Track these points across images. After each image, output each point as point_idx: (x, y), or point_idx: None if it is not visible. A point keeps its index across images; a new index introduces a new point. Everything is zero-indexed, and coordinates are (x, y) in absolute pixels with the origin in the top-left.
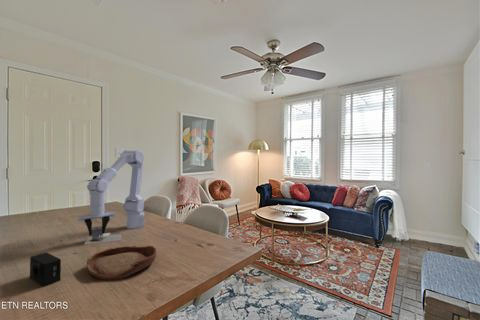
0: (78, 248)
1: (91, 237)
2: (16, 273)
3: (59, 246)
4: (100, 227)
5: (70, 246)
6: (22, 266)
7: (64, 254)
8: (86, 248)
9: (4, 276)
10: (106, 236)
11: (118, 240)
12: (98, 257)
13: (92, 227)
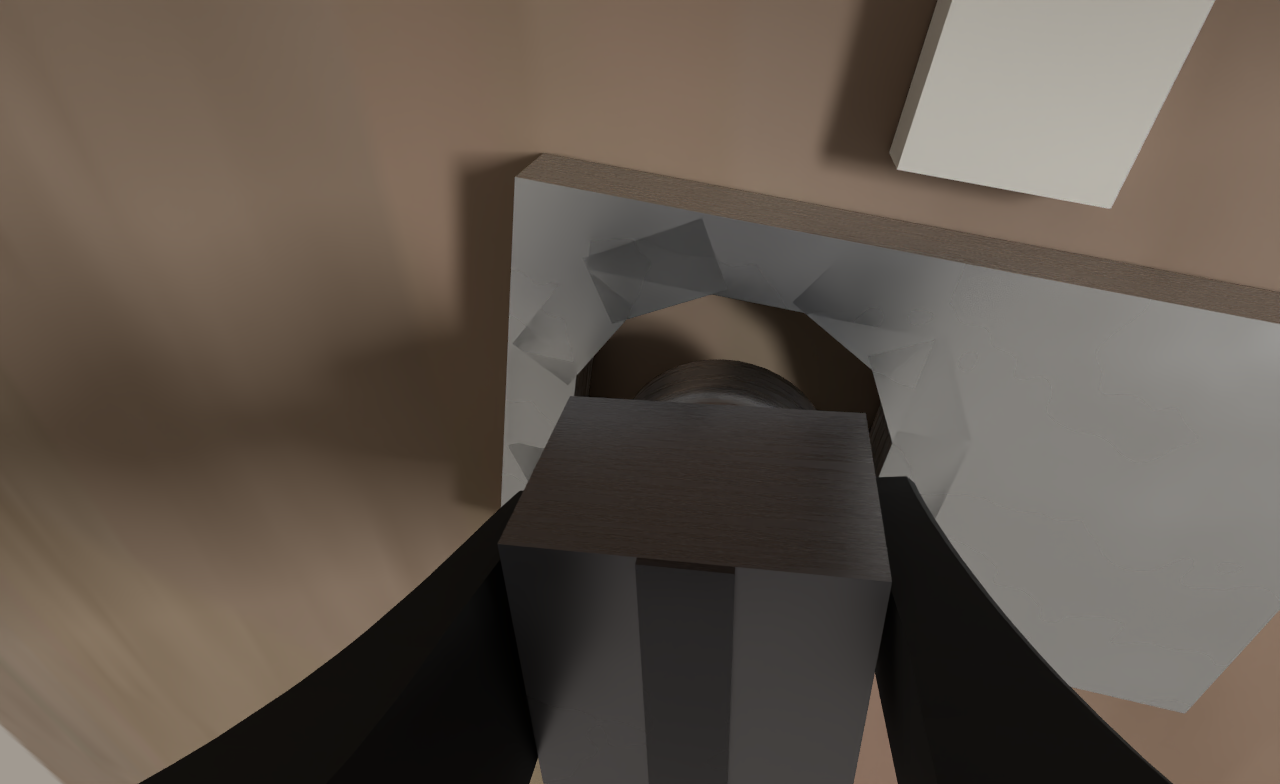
0: (442, 525)
1: (596, 224)
2: (111, 781)
3: (62, 239)
4: (810, 709)
5: (273, 354)
6: (55, 690)
7: (323, 632)
8: None
9: (58, 779)
10: (986, 360)
11: (1137, 685)
12: None
13: (524, 558)
